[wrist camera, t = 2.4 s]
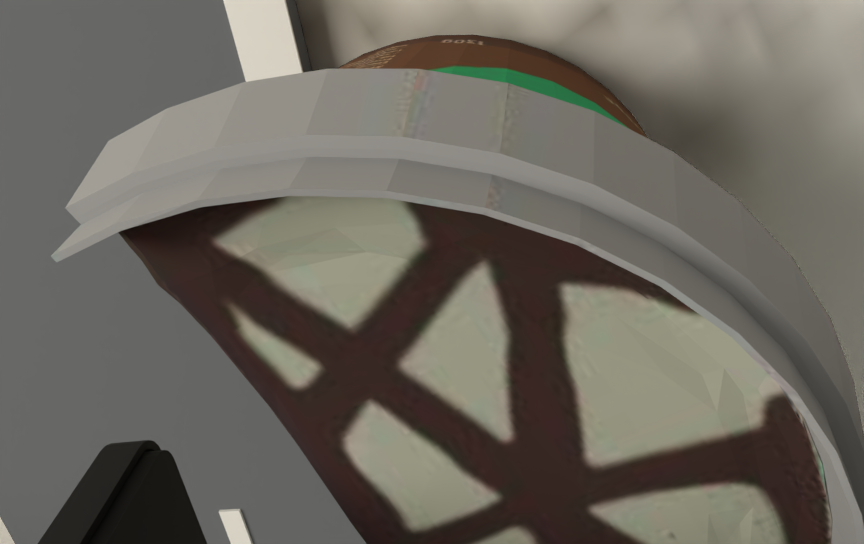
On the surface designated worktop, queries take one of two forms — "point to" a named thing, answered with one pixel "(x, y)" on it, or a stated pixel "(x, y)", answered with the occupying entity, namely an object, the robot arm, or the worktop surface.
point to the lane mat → (129, 275)
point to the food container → (493, 303)
